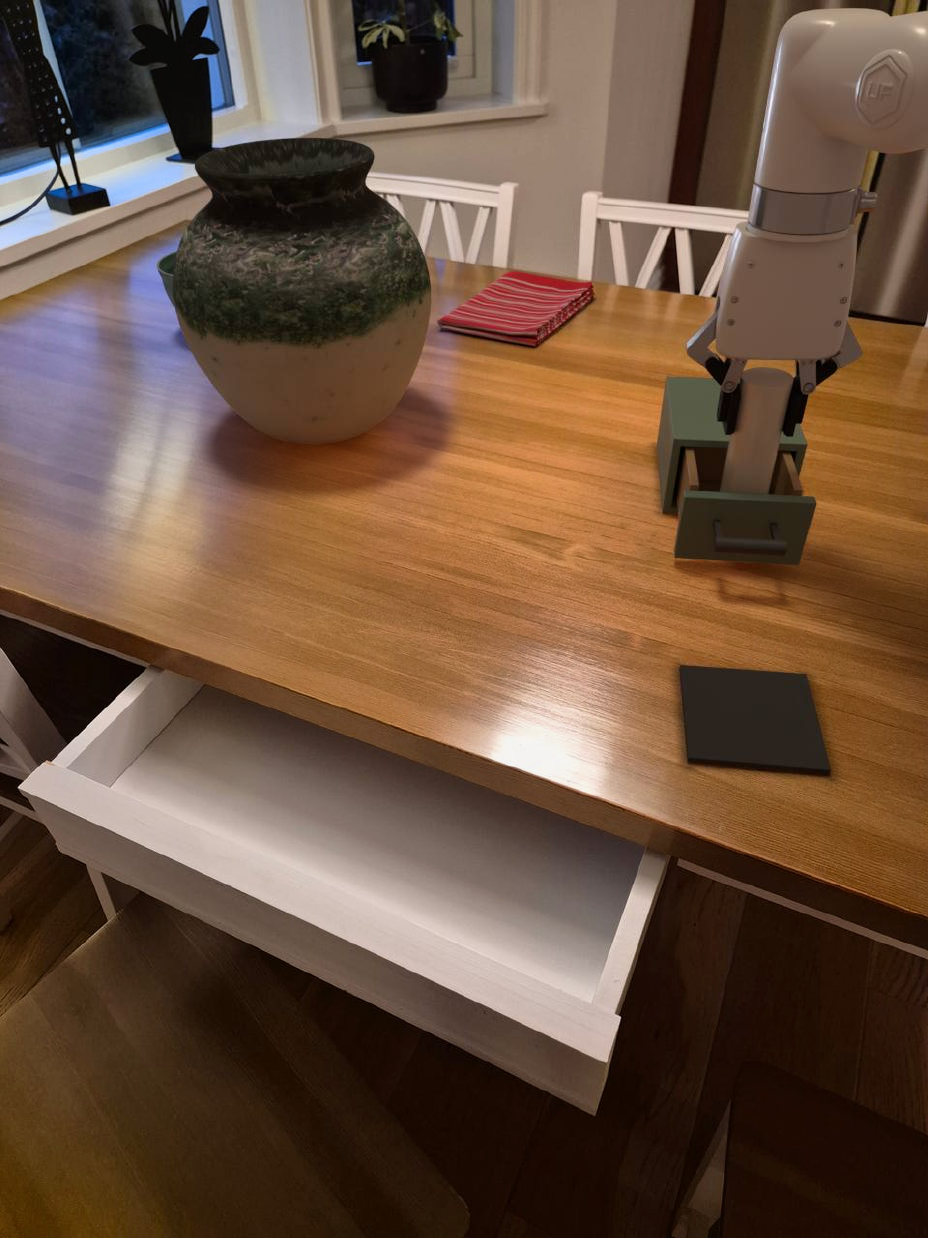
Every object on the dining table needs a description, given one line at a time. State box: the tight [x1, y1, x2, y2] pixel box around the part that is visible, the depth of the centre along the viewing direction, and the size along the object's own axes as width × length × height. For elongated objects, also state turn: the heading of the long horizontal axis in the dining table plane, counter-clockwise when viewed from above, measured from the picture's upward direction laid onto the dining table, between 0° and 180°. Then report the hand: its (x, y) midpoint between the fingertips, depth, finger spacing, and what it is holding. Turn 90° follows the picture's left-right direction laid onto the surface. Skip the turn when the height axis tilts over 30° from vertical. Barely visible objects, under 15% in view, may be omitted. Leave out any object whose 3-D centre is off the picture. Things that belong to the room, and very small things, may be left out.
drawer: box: [673, 446, 818, 566], centre depth 80 cm, size 18×11×7 cm, turn 172°
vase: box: [173, 137, 432, 446], centre depth 94 cm, size 28×28×30 cm
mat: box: [678, 664, 832, 776], centre depth 64 cm, size 10×10×1 cm
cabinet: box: [656, 375, 809, 515], centre depth 89 cm, size 15×13×9 cm
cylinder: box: [720, 366, 794, 494], centre depth 76 cm, size 4×4×12 cm
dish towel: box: [436, 270, 596, 347], centre depth 131 cm, size 17×24×3 cm
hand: (756, 427), depth 75 cm, fingers closed on cylinder, 4 cm apart
